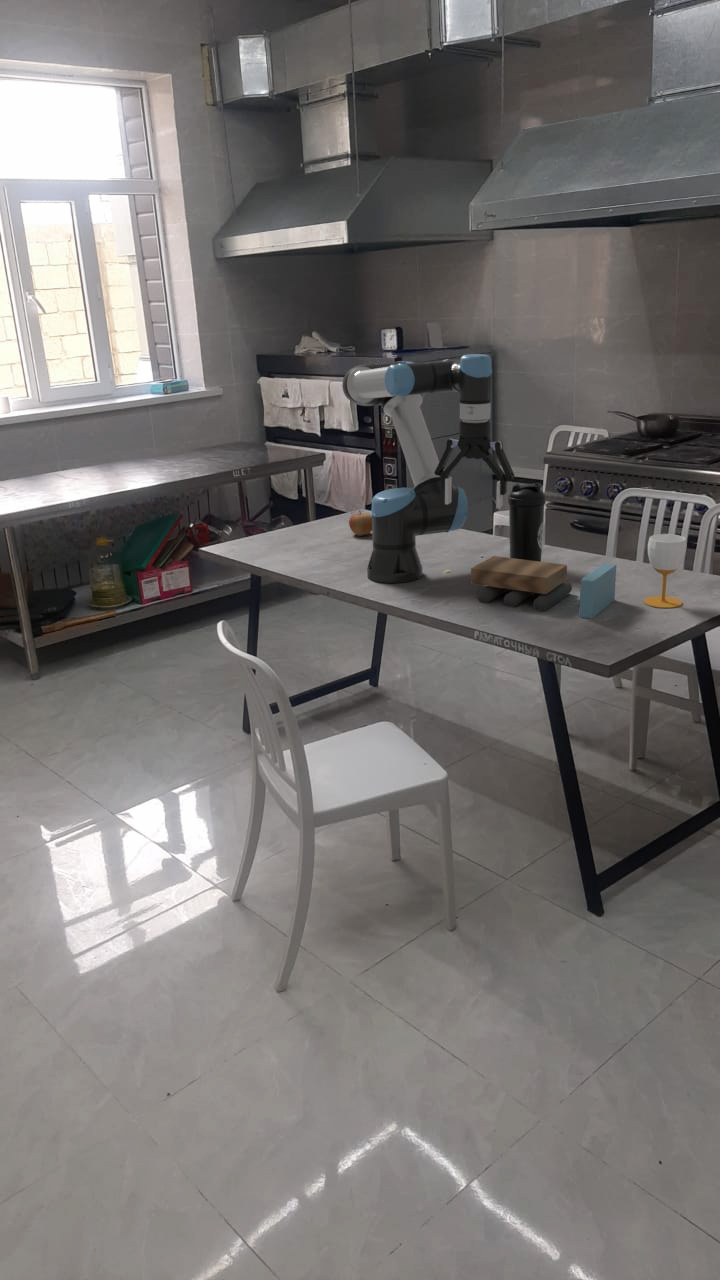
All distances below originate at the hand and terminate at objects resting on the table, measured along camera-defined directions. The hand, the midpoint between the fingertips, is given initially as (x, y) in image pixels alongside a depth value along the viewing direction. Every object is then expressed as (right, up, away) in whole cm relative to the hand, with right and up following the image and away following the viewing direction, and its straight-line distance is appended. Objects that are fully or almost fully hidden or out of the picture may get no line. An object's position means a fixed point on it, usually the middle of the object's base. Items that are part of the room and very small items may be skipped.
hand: (473, 505), depth 244 cm
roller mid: (+11, -23, -2) cm, 26 cm away
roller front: (+17, -23, -6) cm, 30 cm away
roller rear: (+5, -22, +2) cm, 23 cm away
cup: (+45, -25, -10) cm, 52 cm away
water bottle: (+17, -14, +25) cm, 33 cm away
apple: (-28, 0, +67) cm, 72 cm away
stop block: (+28, -26, -12) cm, 41 cm away
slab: (+11, -20, -3) cm, 23 cm away
